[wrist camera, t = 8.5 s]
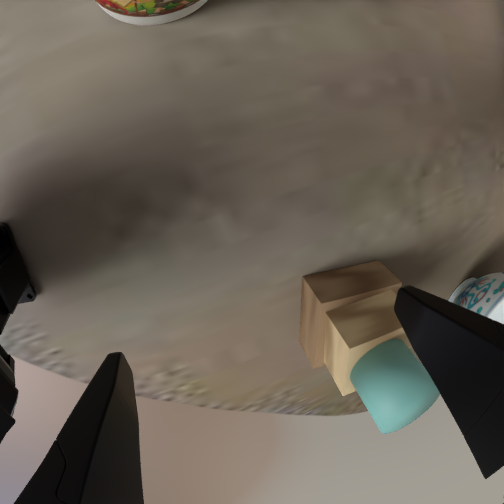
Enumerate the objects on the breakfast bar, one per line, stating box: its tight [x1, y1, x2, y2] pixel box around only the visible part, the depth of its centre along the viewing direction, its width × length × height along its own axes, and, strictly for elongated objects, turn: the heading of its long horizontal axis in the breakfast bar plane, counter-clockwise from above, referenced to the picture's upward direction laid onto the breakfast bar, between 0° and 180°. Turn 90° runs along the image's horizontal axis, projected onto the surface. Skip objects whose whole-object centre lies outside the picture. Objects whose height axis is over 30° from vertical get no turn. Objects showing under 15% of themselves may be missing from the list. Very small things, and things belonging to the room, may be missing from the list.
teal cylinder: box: [350, 339, 440, 434], centre depth 19 cm, size 5×5×5 cm
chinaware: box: [448, 272, 504, 324], centre depth 31 cm, size 15×15×8 cm
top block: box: [324, 290, 412, 396], centre depth 23 cm, size 6×6×4 cm
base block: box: [299, 260, 402, 369], centre depth 26 cm, size 8×8×4 cm
